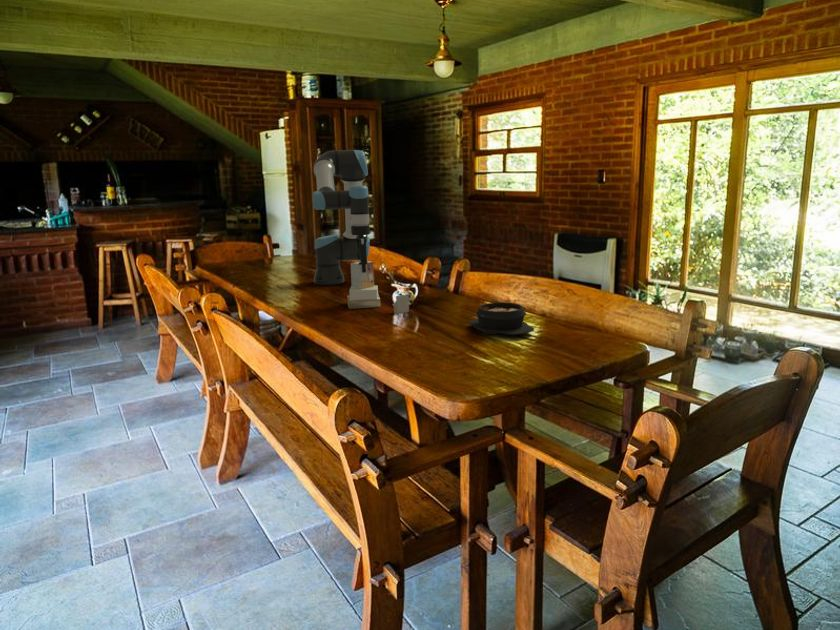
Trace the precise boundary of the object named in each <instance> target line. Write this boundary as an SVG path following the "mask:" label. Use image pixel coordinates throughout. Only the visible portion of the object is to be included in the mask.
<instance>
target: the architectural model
mask: <svg viewBox="0 0 840 630" xmlns="http://www.w3.org/2000/svg"><path fill="white" fill-rule="evenodd" d="M411 304H412V303H411V302H410V299H409V294H408V293H407V294H400V295H396V297H395V301H394V302H393V303H392V304H391V305H392V306H393V314H396V315H398V314H404V313H409V312H410V306H409V305H411Z"/></svg>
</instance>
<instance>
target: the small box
mask: <svg viewBox="0 0 840 630" xmlns="http://www.w3.org/2000/svg"><path fill="white" fill-rule="evenodd" d="M374 271H375V269H374V261H370V260H367V277H368V280H364V281H361V275H360V265H359V262H351V263H350V278H351V279H350V280H351V286H352V288H355V289H364V288H369V287H374V285H375V275H374V273H375V272H374Z"/></svg>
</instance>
